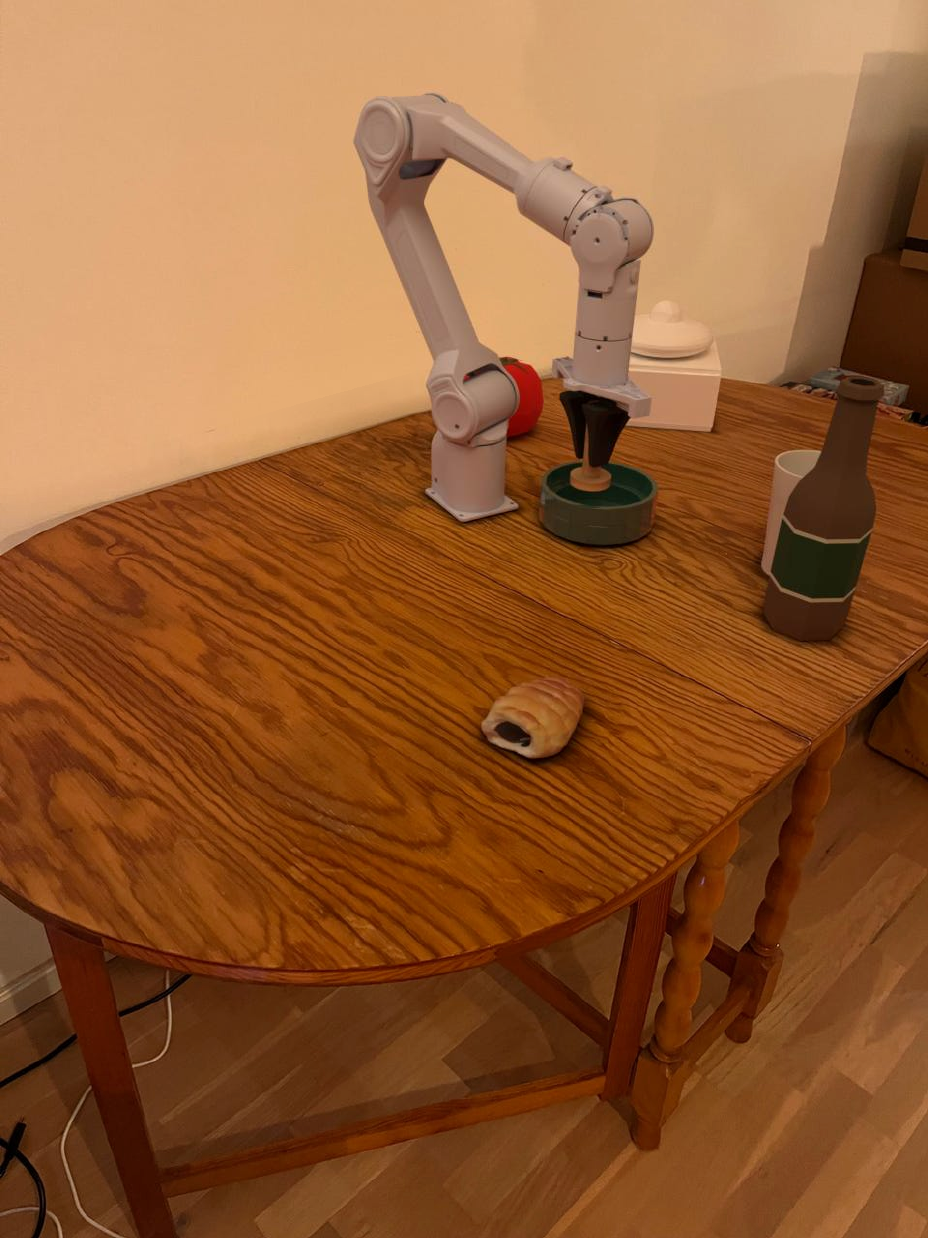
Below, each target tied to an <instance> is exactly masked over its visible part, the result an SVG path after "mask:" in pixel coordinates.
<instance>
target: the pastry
mask: <svg viewBox="0 0 928 1238" xmlns="http://www.w3.org/2000/svg"><path fill="white" fill-rule="evenodd" d="M584 703H585V696H584V693H583V691H582V689H581V688H580V686H577V685H576V684H574V683H573V682H570V681H568V680H567V678H565V677H564V676H552V675H551V676H546V677H542V678H537V677H536V678H533V679H532V680H531V681H523V682H521V683H520V684H519V686H518V685H517V686H512V687H510V688H509V690H508V692H507V693H506V694H505V695H501V696H498V697H497V698H495V700H493V702H492V705H491V707H490V710H489V713H488V715H487V716H486V718H485V719H484V720H482V721H481V723H480V729H481V732H482V733H483V735H485V736H486V739H487V741H488V742H489V743H490V744H493V745H495V746H497V747H500V748H501V749H504V750H507V751H512V752H516V753H517V754H519V755H521V756H523V757H525V758H528V759H540V758H541V759H544V758H549V757H552V756H554V755H556V754H559V753H560V752H561V751H562V750H563V749H564V747H566V746H567V745H568V743H569V741H570V739H571V738H572V735H574V732H575V731H576V729H577V726H578V723H579V721H580V719H581V716H582V714H583V709H584Z"/></svg>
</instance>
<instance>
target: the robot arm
mask: <svg viewBox="0 0 928 1238" xmlns="http://www.w3.org/2000/svg"><path fill="white" fill-rule="evenodd" d="M359 114H360V115H359V117H358V121H357V125H356V129H355V132H354V136H353V141H352V143H353V145H354V148H355V150H356V153H357V155H358V158H359V160H360V162H361V165H362V167H363V169H364V173H365V179H366V181H365V182H366V190H367V199H368V204H369V207H370V210H371V213H372V215H373V218H374V220H375V222H376V225H377V227H378V230H379V232H380V234H381V237H382V240H383V242H384V244H385V246H386V247H385V248H386V249H387V251H388V254H389V256H390V259H391V261H392V264H393V266H394V269H395V271H396V273H397V275H398V279H399V281H400V283H401V285H402V288H403V290H404V293H405V296H406V298H407V300H408V303H409V305H410V307H411V309H412V312H413V314H414V317H415V319H416V321H417V324H418V326H419V329H420V331H421V334H422V336H423V338H424V341H425V344H426V346H427V348H428V350H429V353H430V355H431V358H432V360H433V363H432V367H431V369H430V372H429V374H428V377H427V379H426V382H425V387H426V389H427V392H428V395H429V397H430V403H431V404H430V405H431V408H430V409H431V417H432V420H433V424H434V425H435V427H436V429H437V430H436V432H435V434H434V435H433V438H432V441H431V487H428V488H426V489H425V491H424V493H425V495H427V496H428V497H430V498H431V499H432V500H433V501H434V502H436V503H437V504H438V505H440V506H441V507H442V508H443V509H444V510H445V511H447V512H448V513H450V514H451V515H452V516H453V517H454V518H456V519H457V520H458V521H459V522H460V523H465V522H470V521H473V520H478V519H482V518H486V517H489V516H495V515H498V514H503V513H506V512H509V511H510V512H511V511H514V510H517V509H519V504H518V503H517V502H516V501H514V500H513V499H512V498H510V497H509V496H508V495H506V494H505V489H506V488H505V487H506V486H505V485H506V464H507V463H506V462H507V461H506V460H507V459H506V458H507V438H508V437H507V436H506V435H507V429H508V423H509V418H510V417H512V416H513V415H514V414H515V412H516V411H517V409H518V406H519V402H520V394H519V389H518V386H517V384H516V382H515V380H514V379H513V377H512V376H511V375H510V374H509V373H508V372H507V371H506V370H505V369H504V367H503V366H502V364H501V362H500V359H499V358H500V356H499V354H498V353H496V352H495V351H494V350H492V349H491V348H489V347H487V346H486V345H484V343H481V341H479V338H478V336H477V333H476V331H475V328H474V326H473V324H472V321H471V318H470V316H469V313H468V311H467V308H466V305H465V303H464V301H463V298H462V296H461V292H460V290H459V288H458V286H457V283H456V280H455V278H454V276H453V273H452V270H451V268H450V265H449V264H448V260H447V257H446V255H445V253H444V251H443V248H442V245H441V242H440V240H439V238H438V235H437V233H436V230H435V228H434V225H433V223H432V221H431V218H430V216H429V213H428V210H427V208H426V205H425V200H426V196H427V194H428V191H429V188H430V186H431V184H432V183H433V181H434V180H435V178H436V176H437V175H438V174H439V172H440V171H441V169H442V168H443V166H444V165H445V163H446V162H447V160H448V159H451V160H454V161H455V162H457V163H459V164H461V165H463V166H464V167H465V168H468V169H469V170H471V171H473V172H474V173H476V174H478V175H480V176H481V177H484V178H485V179H487V180H488V181H490V182H492V183H493V184H496V185H497V186H499V187H501V188H502V189H504V190H506V191H507V192H509V193H511V194H513V195H514V196H515V200H516V206H517V210H518V213H519V214H520V215H521V216H523V217H524V218H526V219H527V220H529V221H531V222H532V223H533V224H535V225H537V226H538V227H540V228H541V229H543V230H544V231H545V232H547V233H549V234H550V235H552V236H553V237H555V238H556V239H558V240H559V241H561V242H563V243H564V244H565V245H567V246H568V247H570V251H571V253H572V256H573V258H574V260H575V262H576V264H577V266H578V291H577V305H576V317H575V327H574V328H575V331H574V339H573V342H574V343H573V355H572V358H571V357H569V356H563V357H556V358H552V363H551V378H554V379H556V380H559V379H563V380H562V387H563V388H564V389H566V390H565V391H561V392H559V395H558V396H559V397H558V399H559V401H560V403H561V406H562V407H563V411H564V412H565V414H566V417H567V420H568V424H569V428H570V432H571V438H572V443H573V449H574V454H575V458H576V459H577V460H583V453H584V442H585V431H586V423H587V429H588V460H589V466H591V467H592V468H595V467H600V466H604V465H608V463H609V462H610V461H611V458H612V455H613V452H614V449H615V447H616V444H617V442H618V439H619V437H620V436H621V433H622V432H623V430H624V428H625V427H626V426H625V425H626V424H627V422H628V421H629V419H630V418H633V419H635V418H640V417H645V416H649V415H650V408H651V400H652V397H651V396H649V395H647V394H646V393H644V392H643V391H642V390H641V389H640V388H639V387H638V386H637V385H636V384H635V383H634V382H633V381H632V380H631V378H630V377H629V376H628V372H629V363H630V354H631V346H632V337H633V328H634V319H635V316H636V311H637V310H636V309H637V301H638V291H639V280H640V271H641V262H642V261H641V260H640V259H641V258H642V257H644V256H645V255H646V253H648V251H649V250H650V248H651V245H652V243H653V240H654V234H655V227H654V221H653V217H652V215H651V213H650V212H649V211H648V209H647V208H646V207H645V206H644V205H643V204H642V203H641V202H640V200H639V199H637V198H636V197H632V196H622V197H619V198H616V199H615V198H614V197H613V196H612V194H613V189H612V188H610V187H608V186H607V185H604V184H603V185H600V186H597V185H596V184H594V183H593V182H591V181H589V180H588V179H586V178H585V177H583V176H582V175H580V174H579V173H577V172H575V170H572V168H573V166H574V163H573V161H571V160H570V159H568V158H566V157H565V156H561V157H555V158H553V157H551V156H548V157H543V158H541V159H539V160H537V161H533V160H532V159H531V158H529V157H528V156H526V155H525V154H524V153H522V152H521V151H519V150H518V149H517V148H515V147H514V146H513V145H511V144H510V143H509V142H507V141H506V140H505V139H503V138H502V137H501V136H499V135H497V133H495V132H493V131H492V130H491V129H490V128H488V127H486V126H485V125H484V124H482V123H481V122H480V121H478V120H477V119H476V118H475V117H473V116H472V115H471V114H469V113H468V112H467V110H466V109H465V108H464V106H462V105H461V104H459V103H456V102H453V101H450V100H448V98H447V97H445V96H444V95H442V94H440V93H437V92H428V93H424V94H422V95H410V96H409V95H407V96H406V95H405V96H393V97H390V96H385V95H384V96H382V95H380V96H375V97H372V98H371V99H370V100H368V101H367V102H366V103H365V105H364V106H363V108H362V109H361V112H360V113H359ZM465 375H466V376H468V377H469V378H467V379H465V380H463V379H464V376H465ZM594 400H599V402H592V403H588V402H590V401H594Z"/></svg>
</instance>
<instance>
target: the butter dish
mask: <svg viewBox="0 0 928 1238" xmlns="http://www.w3.org/2000/svg"><path fill="white" fill-rule="evenodd" d="M722 371H723V369H722V365H721V360H720V356H719V352H718V348H717V343H716V338H715V335H714V334H713V331H711V328H709V327H707V326H706V325H705V324H704V323H702V322H699V321H698V320H695V319H693V318H690V317H686V316H684V312H683V309H682V308H681V306H680V305H679V304H678V303H676V302H674V301H672V300H662V301H658V303H657V304H656V305H654V306H653V307H652V308H651V311H650V313H643V314H642V313H641V314H637V315H636V314H635V319H634V328H633V337H632V346H631V354H630V363H629V372H628V376H629V377H630V378H631V380H632V381H633V382H634V383H635V384H636V385H637V386H638V387H639V388H640V389H641V390H642V391H643V392H644V393H646V394H647V395H649V396H651V397H652V400H651V408H650V415H649V416H645V417H640V418H635V419H633V418H630V419H629V421H628V422H627V424H626V425H625V427H639V428H650V429H651V428H653V429H665V430H666V429H667V430H680V431H693V432H694V431H695V432H706V433H707V432H710V433H711V431H712V428H714V427H713V426H714V421H715V415H716V410H717V404H718V397H719V391H720V386H721V380H722Z"/></svg>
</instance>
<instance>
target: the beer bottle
mask: <svg viewBox="0 0 928 1238" xmlns="http://www.w3.org/2000/svg"><path fill="white" fill-rule="evenodd" d="M835 391H836V393H837V394H838V397H837V400H836V403H835V407H834V410H833V413H832V415H831V419H830V422H829V426H828V428H827V433H826V436H825V439H824V442H823V445H822V449H821V450H820V451H821V454H820V456H819V458H818V460H817V462H816V465H815V467H814V468H813V469H812V470H811V471H810V472H809V473H808V474H806V475H805V476H804V477H803V478H802V479H801V480H800V481H799V482H798V483H797V485H796V486H795V488H794V489H793V491H792V492H791V494H790V495H789V497H788V501H787V504H786V507H785V510H784V513H783V517H782V522H781V526H780V531H779V535H778V540H777V544H776V549H775V553H774V558H773V562H772V567H771V571H770V576H769V575H768V580H767V585H766V589H765V590H766V591H765V594H764V600H763V607H762V613H763V616H764V618H765V619H766V621H767V623H768V624H769V626H770V627H771V629H772V631H774V632H777V633H778V634H782V635H784V636H787V637H789V638H792V639H794V640H797V641H800V642H819V641H820V642H823V641H825V642H826V641H830V640H831V639H832V638H833V637H834V636H835V635H836V634H837V633H839V631H840V630H841V629H842V628H844V626H845V623H846V621H847V618H848V615H849V613H850V609H851V606H852V602H853V599H854V596H855V592H856V588H857V585H858V583H859V579H860V578H859V577H860V574H861V572H862V568H863V564H864V560H865V557H866V553H867V551H868V550H867V549H868V546H869V542H870V539H871V536H872V532H873V528H874V525H875V519H876V513H877V503H876V495H875V491H874V488H873V486H872V484H871V481H870V480H869V477H868V475H867V473H868V472H867V471H868V456H869V452H870V451H869V450H870V446H871V442H872V436H873V432H874V431H873V430H874V427H875V426H874V425H875V421H876V416H877V411H878V406H879V401H880V399H882V398H884V397H885V387H884V384H882V382H880V381H878V379H874V378H871V377H866V376H863V375H862V376H860V375H859V376H847V377H845V378H843V379H841V380H840V381H839V384H838V386H837V388H836V389H835Z"/></svg>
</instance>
